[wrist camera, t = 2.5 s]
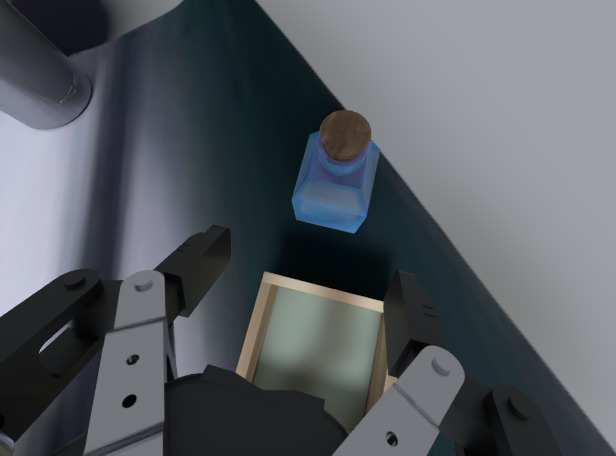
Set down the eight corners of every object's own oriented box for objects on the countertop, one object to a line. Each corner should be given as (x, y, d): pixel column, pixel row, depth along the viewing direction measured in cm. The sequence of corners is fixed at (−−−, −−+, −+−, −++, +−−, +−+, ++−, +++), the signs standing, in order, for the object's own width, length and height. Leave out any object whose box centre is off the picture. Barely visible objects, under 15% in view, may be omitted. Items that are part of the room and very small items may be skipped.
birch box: (239, 401, 23) (218, 432, 18) (274, 275, 25) (264, 271, 21) (366, 440, 22) (381, 483, 17) (389, 304, 24) (407, 308, 20)
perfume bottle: (310, 167, 28) (308, 81, 16) (365, 179, 28) (403, 99, 16) (296, 219, 27) (283, 166, 15) (354, 233, 26) (386, 189, 15)
